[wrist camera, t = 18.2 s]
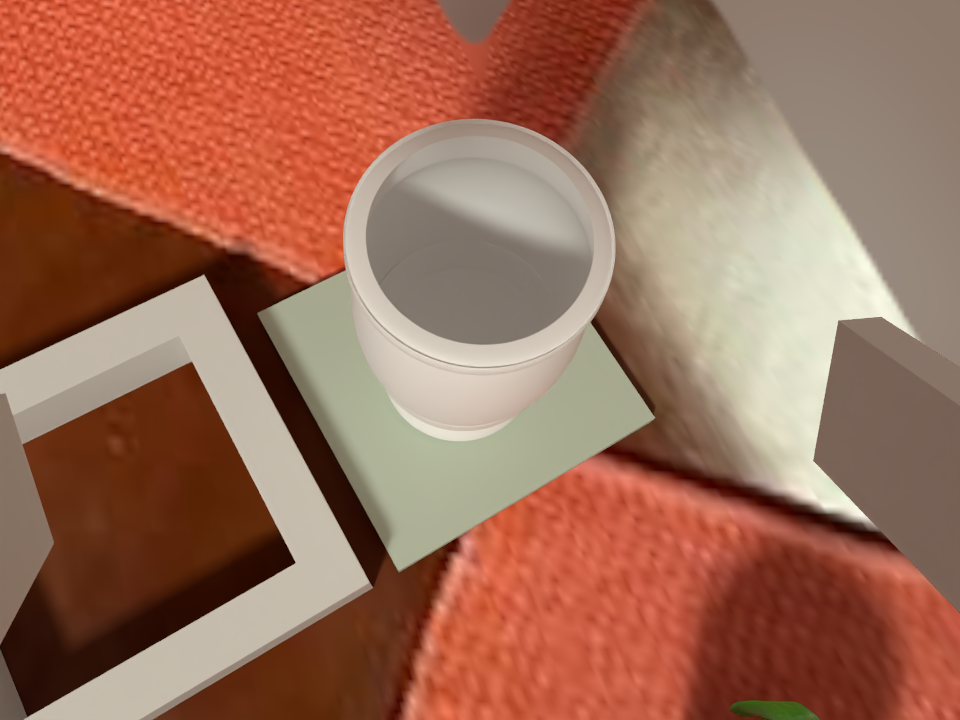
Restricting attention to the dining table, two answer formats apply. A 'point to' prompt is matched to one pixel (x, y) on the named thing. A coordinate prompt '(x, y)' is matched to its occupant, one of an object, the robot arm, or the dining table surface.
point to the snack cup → (773, 710)
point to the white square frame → (268, 457)
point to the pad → (428, 460)
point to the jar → (474, 271)
